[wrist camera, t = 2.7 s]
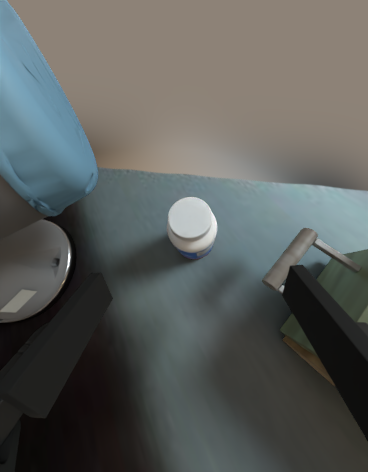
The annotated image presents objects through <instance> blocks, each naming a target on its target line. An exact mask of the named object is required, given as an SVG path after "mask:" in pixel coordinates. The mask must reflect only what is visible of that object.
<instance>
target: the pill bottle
mask: <svg viewBox="0 0 368 472" xmlns="http://www.w3.org/2000/svg"><path fill="white" fill-rule="evenodd" d="M167 233H168V237H169V239H170V241H171V242H172V244H173V245H174V246H175V247H176V248H177V250H178V251H179V252H180V253H181V254H182V255H183V256H185V257H186V258H189V259H200V258H203V257H204V256H206V255H207V254H208V253H209V252H210V251H211V249H212V247H213V244H214V240H215V237H216V233H217V222H216V219H215V216H214V215H213V213H212V212H211V209H210V207H209V206H208V205H207V203H206V202H204V201H203V200H201V199H199V198H195V197H186V198H183V199H180V200H179V201H177V202H176V203H175V204H174V205H173V206H172V207H171V209H170V211H169V214H168V223H167Z"/></svg>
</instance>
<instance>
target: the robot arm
mask: <svg viewBox="0 0 368 472" xmlns="http://www.w3.org/2000/svg"><path fill="white" fill-rule="evenodd" d="M97 180H98V169H97V164H96V160H95V157H94V154H93V151H92V149H91V147H90V144H89V142H88V140H87V137H86V135H85V133H84V130H83V128H82V126H81V124H80V122H79V120H78V118H77V116H76V114H75V112H74V110H73V109H72V107H71V105H70V103H69V101H68V99H67V97H66V95H65V93H64V92H63V90H62V88H61V86H60V84H59V83H58V81H57V79H56V78H55V76H54V74H53V72H52V71H51V69H50V67H49V65H48V63H47V62H46V60H45V58H44V57H43V55H42V53H41V51H40V50H39V48H38V47H37V45H36V43H35V42H34V40H33V38H32V37H31V35H30V33H29V32H28V30H27V29H26V27H25V26H24V24H23V22H22V21H21V19H20V18H19V16H18V15H17V13H16V12H15V10H14V9H13V8H12V7H11V5H9V3H8V2H7V0H0V323H3V322H15V321H20V320H25V319H30V318H33V317H35V316H38V315H40V314H41V313H43V312H45V311H46V310H48V309H49V308H50V307H51V306H53V305H54V304H55V303H56V302H57V301H58V299H59V298H60V297H61V296H62V295H63V293H64V292H65V290H66V289H67V287H68V285H69V283H70V281H71V279H72V276H73V273H74V270H75V265H76V249H75V244H74V241H73V239H72V237H71V235H70V234H69V233H68V232H67V231H66V230H65V229H64V228H63V227H61V226H60V225H57V224H55V223H52V222H50V221H47V220H42V219H43V218H45V217H47V216H56V215H59V214H60V213H61V212H62V211H63V210H64V208H65V207H67V206H69V205H71V204H72V203H74V202H76V201H78V200H79V199H81V198H83V197H85V196H87V195H88V194H90V193H91V192H92V191H93V190H94V188H95V186H96V184H97ZM282 296H283V298H284V299H285V301H286V303H287V304H288V306H289V308H290V310H291V311H292V313H293V315H294V316H295V318H296V320H297V321H298V323H299V325H300V327H301V328H302V330H303V332H304V333H305V335H306V337H307V338H308V340H309V342H310V344H311V345H312V347H313V349H314V350H315V352H316V354H317V355H318V357H319V359H320V361H321V362H322V364H323V366H324V367H325V369H326V371H327V373H328V374H329V376H330V378H331V379H332V381H333V383H334V384H335V386H336V388H337V390H338V391H339V393H340V395H341V396H342V398H343V400H344V401H345V403H346V405H347V407H348V408H349V410H350V412H351V413H352V415H353V417H354V418H355V420H356V422H357V424H358V425H359V427H360V429H361V430H362V432H363V434H364V435H365V437H366V439H367V441H368V324H367V323H365V322H355V321H354V320H353V319H352V318H351V317H350V316H349V315H348V314H347V313H346V312H345V311H344V309H343V308H342V307H341V306H340V305H339V304H338V303H337V302H336V301H335V300H334V299H333V297H332V296H331V295H330V294H329V293H328V292H327V291H326V290H325V289H324V288H323V287H322V286H321V284H320V283H319V282H318V281H317V280H316V279H315V278H314V277H313V276H312V275H311V274H310V272H309V271H308V270H307V269H306V268H305V267H304V266H303V265H290V267H289V271H288V275H287V279H286V282H285V286H284V290H283V294H282ZM112 299H113V298H112V296H111V293H110V291H109V289H108V287H107V285H106V283H105V280H104V278H103V276H102V274H101V273H91V274H90V275H89V276H88V277H87V279H86V280H85V281H84V282H83V283H82V284H81V286H80V287H79V288H78V289H77V290H76V292H75V293H74V294H73V295H72V296H71V297H70V299H69V300H68V301H67V302H66V303H65V305H64V306H63V307H62V308H61V309H60V310H59V312H58V313H57V314H56V315H55V316H54V318H53V319H52V320H51V321H50V322H49V323H45V324H44V325H43V326H42V327H40V328H39V329H38V330H37V331H35V332H34V333H33V335H32V336H31V337H30V338H29V339H28V340H27V341H26V344H24V345H23V346H22V347H21V348H20V349H19V351H18V353H16V354H15V355H14V356H13V357H12V358H11V360H10V361H9V362H8V363H7V364H6V365H5V366H4V368H3V369H2V370H1V371H0V472H14V471H15V464H16V457H17V449H18V442H19V435H20V428H21V422H20V420H19V418H20V417H21V415H22V414H23V413H25V414H26V415H28V416H30V417H35V418H46V417H47V415H48V413H49V411H50V410H51V408H52V406H53V404H54V403H55V401H56V399H57V397H58V395H59V394H60V392H61V390H62V388H63V386H64V385H65V383H66V381H67V379H68V377H69V376H70V374H71V372H72V370H73V368H74V367H75V365H76V363H77V361H78V360H79V358H80V356H81V354H82V352H83V351H84V349H85V347H86V345H87V343H88V342H89V340H90V338H91V336H92V334H93V333H94V331H95V329H96V327H97V326H98V324H99V322H100V320H101V318H102V317H103V315H104V313H105V311H106V309H107V308H108V306H109V304H110V302H111V300H112Z"/></svg>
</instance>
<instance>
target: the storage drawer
mask: <svg viewBox="0 0 368 472" xmlns="http://www.w3.org/2000/svg"><path fill="white" fill-rule="evenodd" d="M317 237H318V234H317V233H316V232H315V231H314V230H312V229H309V228H303V229H302V230H301V231H300V232H299V233H298V235H297V236H296V237H295V238H294V240H293V241H292V242H291V244H290V245H289V246H288V247H287V249H286V250H285V251H284V252H283V254H282V255H281V256H280V258H279V259H278V260H277V261H276V263H275V264H274V265H273V267H272V268H271V269H270V270H269V272H268V273H267V274H266V275H265V277H264V278H263V279H262V282H263V283H264V284H265V285H266V286H268V287H269V288H270V289H272V290H275V291H279V292H280V293H281V294H283V290H284V286H283V285H281V284H282V283H283V282H284V280H285V279H286V278H287V275H288V271H289V267H290V265H297V263H298V262H299V261H300V259H301V258H302V257H303V255H304V254H305V253H306V251H307V250H308V249H309V247H310V246H311V245H313V246H315V247H316V248H318V249H319V250H321V251H322V252H324V253H325V254H327V255H328V256H330V257H331V258H332V259H331V260H330V261H329V263H328V264H327V266H326V267H325V268H324V270H323V271H322V272H321V274H320V275H319V277H318V278H317V279H316V280H317V281H318V282H319V283H320V284H321V286H322V287H323V288H324V289H325V290H326V291H327V292H328V293H329V294H330V295H331V296H332V297H333V299H334V300H335V301H336V302H337V303H338V304H339V305H340V306H341V307H342V308H343V309H344V311H345V312H346V313H347V314H348V315H349V316H350V317H351V318H352V319H353V320H354V321H355V322H365V323H367V324H368V249H367V250H362V251H357V252H352V253H347V254H341V253H339V252H338V251H336V250H335V249H333V248H332V247H330V246H329V245H327V244H325V243H324V242H322V241H321V240H319V239H316V238H317ZM280 331H281V332H282V333H283V334H284V335H286V336H287V337H288V338H289V339H291V340H292V341H294V342H295V343H297V344H298V345H300V346H301V347H303V348H304V349H306V350H307V351H309V352H310V353H312V354H313V355H315V356H316V357H318V355H317V354H316V352H315V350H314V349H313V347H312V345H311V344H310V342H309V340H308V338H307V337H306V335H305V333H304V332H303V330H302V328H301V327H300V325H299V323H298V321H297V320H296V318H295V316H294V315H293V313H292V314H291V315H290V316H289V318H288V319H287V321H286V322H285V323H284V325H283V326H282V327H281V329H280ZM318 358H319V357H318Z"/></svg>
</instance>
